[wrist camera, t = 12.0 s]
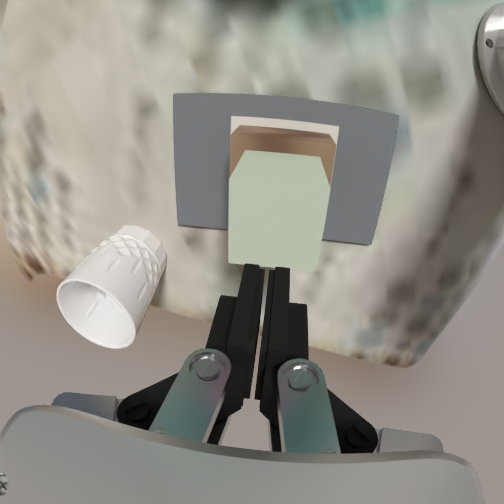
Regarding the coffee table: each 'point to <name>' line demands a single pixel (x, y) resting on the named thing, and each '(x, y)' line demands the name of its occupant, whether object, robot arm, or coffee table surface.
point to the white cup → (113, 287)
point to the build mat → (289, 117)
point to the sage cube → (277, 210)
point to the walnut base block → (282, 144)
